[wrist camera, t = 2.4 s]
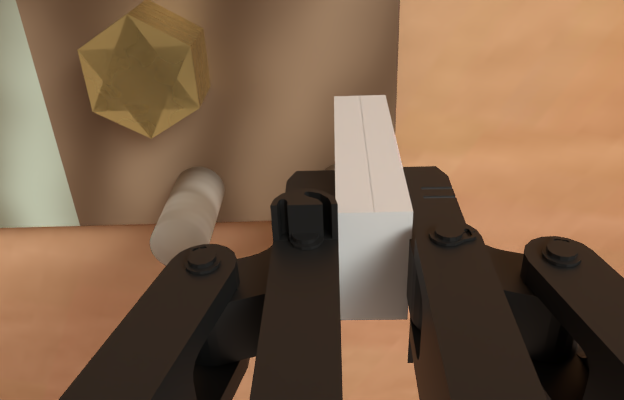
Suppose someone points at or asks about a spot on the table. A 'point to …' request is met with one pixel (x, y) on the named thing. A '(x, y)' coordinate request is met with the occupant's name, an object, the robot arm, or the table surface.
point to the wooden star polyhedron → (146, 69)
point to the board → (192, 129)
